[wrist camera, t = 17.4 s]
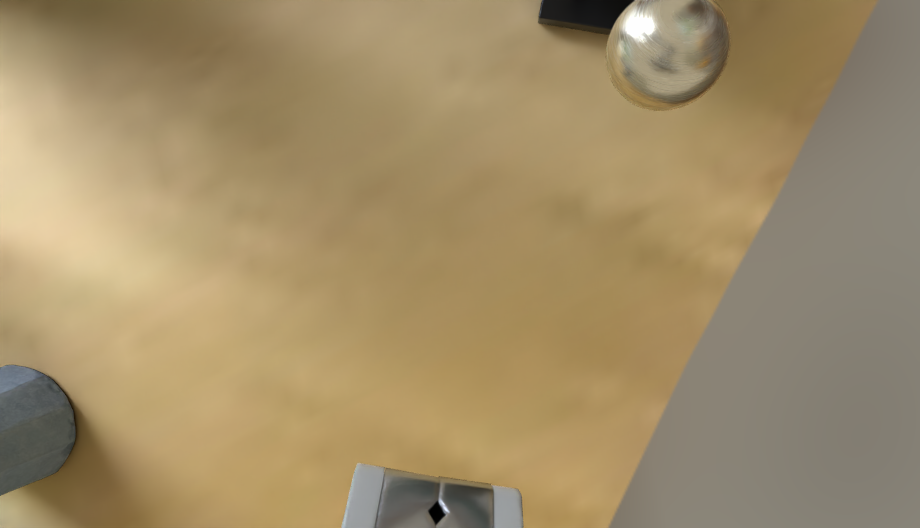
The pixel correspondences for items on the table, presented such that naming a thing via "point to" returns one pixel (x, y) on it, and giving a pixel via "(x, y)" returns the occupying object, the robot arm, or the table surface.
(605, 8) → the lever bracket
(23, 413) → the moka pot
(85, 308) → the table surface
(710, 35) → the lever
